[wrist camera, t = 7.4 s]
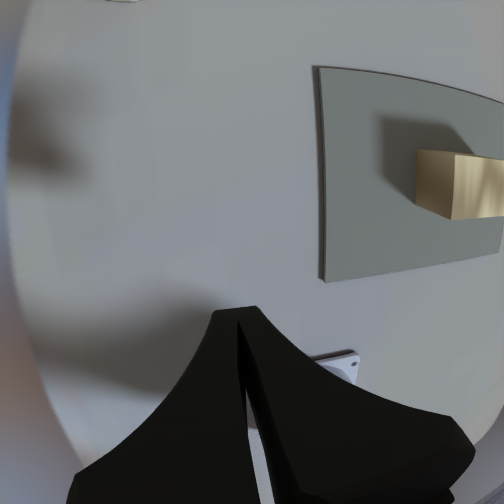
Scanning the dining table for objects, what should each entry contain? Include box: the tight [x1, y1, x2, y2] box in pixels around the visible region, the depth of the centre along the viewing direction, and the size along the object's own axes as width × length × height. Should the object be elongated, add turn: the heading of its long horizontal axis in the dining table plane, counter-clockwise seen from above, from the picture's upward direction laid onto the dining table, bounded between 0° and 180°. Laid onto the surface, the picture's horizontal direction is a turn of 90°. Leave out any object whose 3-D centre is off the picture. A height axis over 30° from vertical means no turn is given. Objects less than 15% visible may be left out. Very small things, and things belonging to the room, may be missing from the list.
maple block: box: [415, 149, 504, 220], centre depth 17 cm, size 4×4×6 cm
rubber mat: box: [318, 68, 504, 283], centre depth 19 cm, size 14×19×1 cm
